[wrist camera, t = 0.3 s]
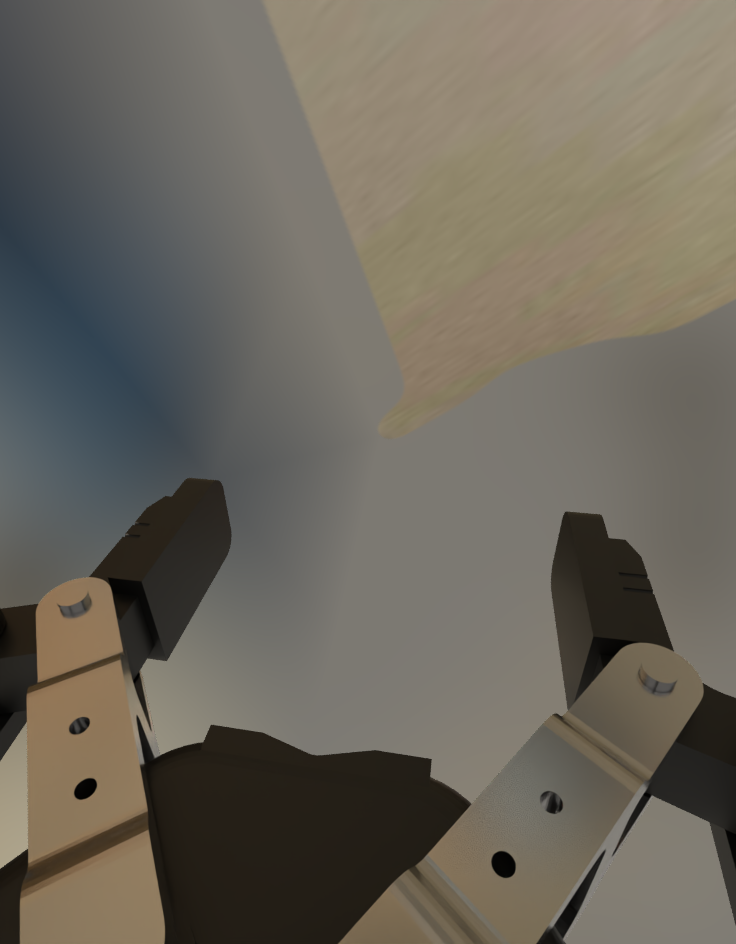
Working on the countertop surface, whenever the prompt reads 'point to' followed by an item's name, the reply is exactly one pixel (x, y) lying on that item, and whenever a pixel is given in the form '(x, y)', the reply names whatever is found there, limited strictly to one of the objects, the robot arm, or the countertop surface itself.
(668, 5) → the countertop surface
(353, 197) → the countertop surface
